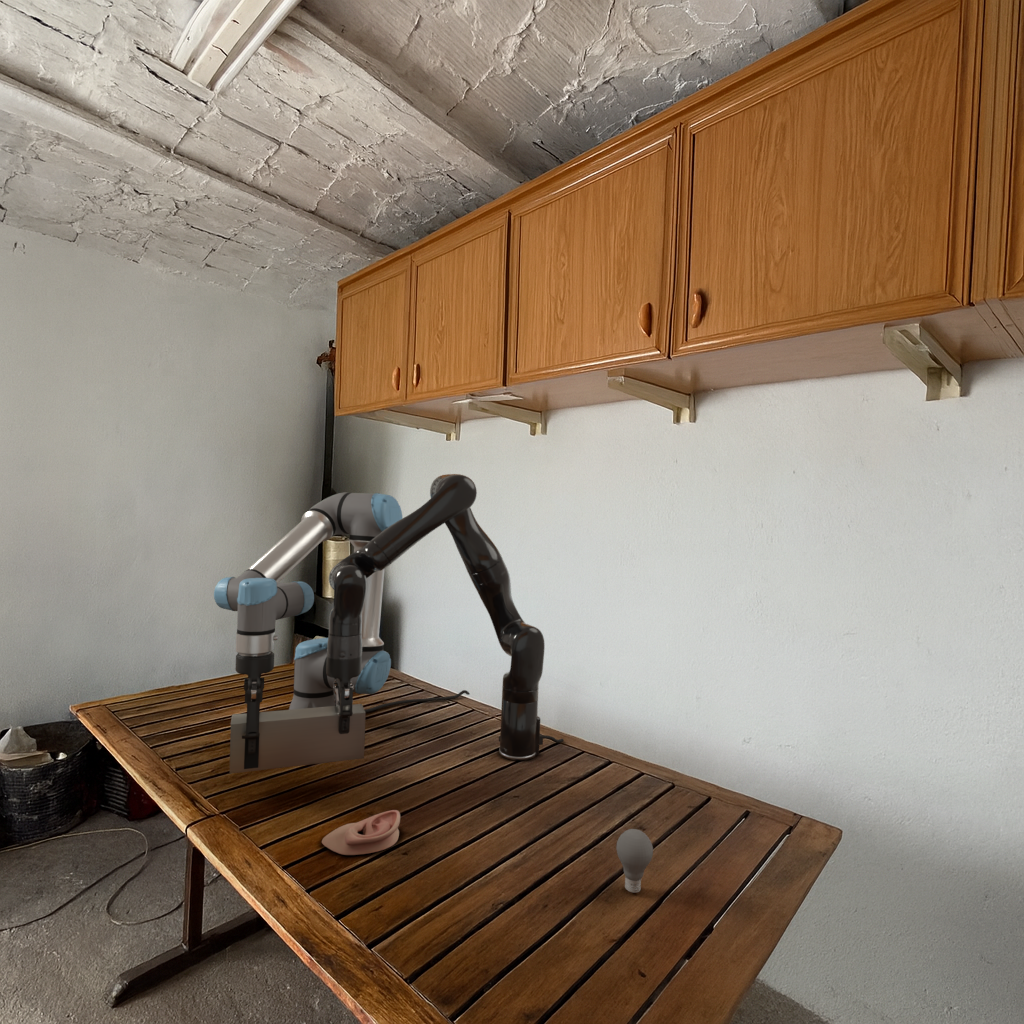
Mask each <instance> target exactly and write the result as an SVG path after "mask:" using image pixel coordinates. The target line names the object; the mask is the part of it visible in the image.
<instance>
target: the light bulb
mask: <svg viewBox="0 0 1024 1024" xmlns="http://www.w3.org/2000/svg"><path fill="white" fill-rule="evenodd" d="M615 849H616V854H617V857H618V859H619V861H620V863H621V865H622V867H623V873H624V874H623V875H624V876H625V878H624V888H625V890H627V891H628V892H630V893H634V894H635V893H639V892H640V891H641V889H642V887H641V886H642V879H643V877H644V875H645V871H646V868H647V867H648V866H649V864H650V863H651V861H652V859H653V855H654V847H653V843H652V841H651V838H649V836H648V835H647V834H646V833H645V832H643V831H642V830H641V829H636V828H629V829H627V830H625V831H623V832H622V833H621V834H620V835H619V837H618V839H617V841H616V847H615Z"/></svg>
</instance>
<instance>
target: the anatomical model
mask: <svg viewBox="0 0 1024 1024" xmlns="http://www.w3.org/2000/svg"><path fill="white" fill-rule="evenodd" d="M400 823H401V813H400V811H399V810H397V809H392V810H391V809H390V810H387V811H383V812H380V813H377V814H373V815H371V816H369V817H367V818H365V819H362V820H360V821H356V822H349V823H346V824H344V825H341V826H339V827H337V828H335V829H334V830H332V831H331V832H329V833H328V834H326V835H325V836H324V837H323V838H322V840H321V844H322V845H323V846H324V847H325V848H327V849H328V850H330V851H332V852H334V853H337V854H339V855H342V856H356V855H357V856H358V855H366V854H371V853H378V852H382V851H383V850H386V849H388V848H390V847H392V846H394V845H395V844H396V843H397V842H398V840H399V836H400V830H399V827H400Z"/></svg>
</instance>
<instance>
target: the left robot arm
mask: <svg viewBox="0 0 1024 1024" xmlns="http://www.w3.org/2000/svg"><path fill="white" fill-rule="evenodd" d="M403 518H404V517H403V511H402V507H401V505H400V504H399V501H398V500H397V499H396V498H395V497H394V496H393V495H390V494H386V493H380V492H378V493H377V492H375V493H374V492H372V493H371V492H346V491H345V492H339V493H335V494H333V495H330V496H328V497H326V498H324V499H323V500H321V501H319V502H317V503H316V504H314V505H313V506H312V507H310V508H309V509H308V510H307V511H306V512H304V513H303V514H302V515H301V519H300V522H299V523H297V524H296V525H295V526H294V527H293V528H292V529H291V530H290V531H288V532H287V533H286V534H285V535H284V536H283V537H281V538H280V539H279V540H278V541H277V542H275V544H274V545H273V546H271V547H270V548H269V549H268V550H267V551H266V552H265V553H264V554H262V555H261V556H260V557H259V558H258V559H256V561H254V562H253V563H252V564H251V565H250V566H248V568H246V569H245V570H244V571H243V572H242V573H241V574H239V575H238V576H237V577H235V576H229V577H224V578H221V579H220V580H219V581H218V582H217V584H216V585H215V587H214V590H213V600H214V602H215V604H216V605H217V606H218V607H219V608H220V609H223V610H227V611H232V612H237V615H236V616H237V618H236V619H237V623H236V624H237V626H236V633H235V636H236V637H235V652H236V653H237V654H236V655H235V672H236V673H237V674H239V675H247V678H244V679H243V681H244V682H243V690H244V703H245V704H246V713H247V719H246V734H245V735H244V736H242V739H245V756H244V769H251V768H258V759H259V736H260V733H259V714H260V712H261V709H260V708H261V703H262V702H263V699H264V698H263V697H264V695H263V694H264V689H265V677H262V675H264V674H268V673H271V672H272V671H273V670H274V669H275V653H274V652H273V651H274V650H275V641H278V639H279V637H278V635H276V621H278V620H282V619H286V618H290V617H297V616H300V615H302V614H304V613H307V612H309V610H310V609H311V608H312V607H313V605H314V602H315V594H314V590H313V588H312V587H311V586H310V584H308V583H307V582H305V581H295V580H293V581H291V582H282V580H283V579H284V578H285V577H286V576H287V575H289V574H290V573H291V571H293V569H294V568H296V567H297V566H298V565H299V564H300V563H301V562H302V561H303V560H304V559H305V558H307V556H308V555H309V554H310V553H311V552H312V551H313V550H314V549H316V547H318V546H319V544H321V543H322V542H327V541H329V540H330V539H331V538H332V537H334V536H336V535H343V534H344V535H349V537H348V541H349V543H350V544H351V545H352V546H353V553H354V552H356V551H358V550H359V549H361V548H363V547H364V546H365V545H366V544H367V543H368V542H370V541H371V540H372V539H373V538H375V537H376V536H377V535H378V534H380V533H381V532H382V531H383V530H385V529H386V528H388V527H389V526H391V525H392V524H394V523H395V522H397V521H399V520H401V519H403ZM384 578H385V569H384V570H381V571H377V572H375V573H373V574H372V575H371V576H369V577H368V578H367V579H366V595H365V601H364V606H363V610H362V664H361V674H360V675H359V676H357V677H353V678H351V679H350V681H352V684H353V689H354V690H353V693H356V694H358V695H362V694H363V695H373V694H376V693H378V692H379V691H380V690H381V689H382V688H383V687H384V685H385V683H386V682H387V680H388V678H389V676H390V672H391V666H392V659H391V656H390V655H391V654H389V652H387V651H386V650H384V648H385V647H384V645H385V642H384V641H383V640H382V639H381V637H380V626H381V616H382V615H381V614H382V602H383V590H384ZM327 643H328V637H325V638H320V639H314V638H313V639H307V640H304V641H302V642H299V643H298V644H297V645H296V647H295V652H294V653H295V654H294V658H293V660H294V672H293V695H292V696H293V697H292V699H291V702H290V704H289V708H288V710H293V709H305V708H317V707H329V706H335V704H336V703H335V702H334V699H335V698H334V697H333V682H334V678H331V677H329V676H327V674H326V664H327ZM463 694H466V695H467V696H468V695H471V694H470V692H469V691H468V690H465V689H464V690H461V691H460V692H458V693H457V694H454V695H450V696H439V697H428V698H427V697H426V698H412V699H403V700H397V701H392V702H391V701H390V702H386V703H382V704H379V705H376V706H374V707H370V708H364V710H365V713H371V712H375V711H378V710H380V709H383V708H388V707H392V706H397V705H404V704H410V703H412V704H413V703H425V702H426V703H427V702H439V701H449V700H450V701H451V700H454V699H458V698H459V697H461V696H462V695H463Z"/></svg>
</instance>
